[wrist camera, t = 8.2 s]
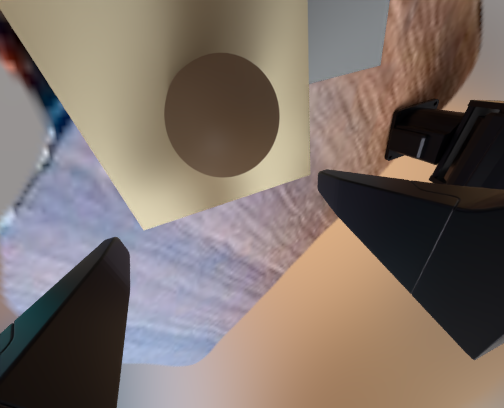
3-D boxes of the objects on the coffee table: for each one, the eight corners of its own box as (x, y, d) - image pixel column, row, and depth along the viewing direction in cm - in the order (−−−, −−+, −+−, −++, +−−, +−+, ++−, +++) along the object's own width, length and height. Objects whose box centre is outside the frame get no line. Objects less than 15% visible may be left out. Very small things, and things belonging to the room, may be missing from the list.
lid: (298, -80, 7) (424, -233, 4) (306, 171, 13) (358, 208, 9) (-27, -47, 6) (-385, -269, 2) (144, 225, 11) (132, 295, 8)
